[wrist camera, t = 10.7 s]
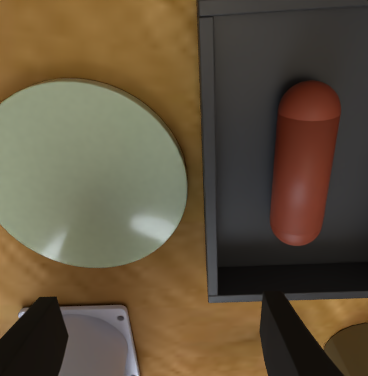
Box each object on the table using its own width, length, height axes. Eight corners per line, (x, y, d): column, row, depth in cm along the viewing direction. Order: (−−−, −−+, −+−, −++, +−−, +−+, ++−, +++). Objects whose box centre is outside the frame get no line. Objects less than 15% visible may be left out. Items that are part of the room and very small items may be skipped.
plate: (192, 257, 23) (192, 265, 22) (17, 263, 24) (11, 271, 23) (181, 71, 17) (180, 74, 17) (-52, 84, 18) (-62, 88, 17)
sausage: (321, 231, 20) (316, 261, 18) (273, 222, 22) (263, 250, 19) (346, 75, 16) (345, 89, 14) (285, 74, 17) (274, 87, 15)
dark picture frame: (373, 263, 23) (397, 297, 20) (206, 269, 24) (208, 303, 21) (449, -19, 15) (503, -22, 13) (196, -1, 16) (197, -1, 13)
